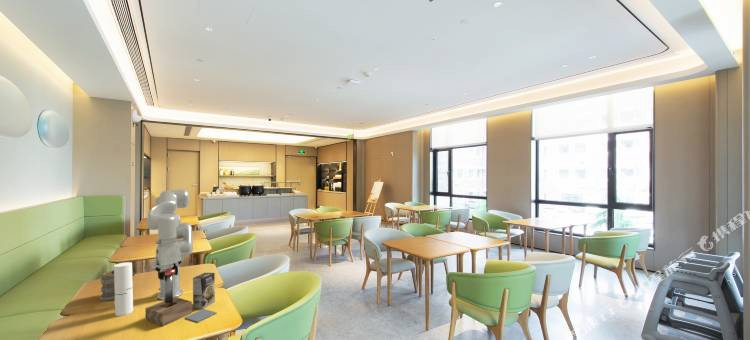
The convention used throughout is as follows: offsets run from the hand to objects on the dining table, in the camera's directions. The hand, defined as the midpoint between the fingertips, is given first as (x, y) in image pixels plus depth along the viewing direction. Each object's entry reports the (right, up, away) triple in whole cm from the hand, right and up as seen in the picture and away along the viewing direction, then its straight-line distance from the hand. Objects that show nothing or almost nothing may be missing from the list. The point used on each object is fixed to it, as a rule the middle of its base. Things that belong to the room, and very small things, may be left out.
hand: (168, 276), depth 153 cm
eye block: (0, -20, 0) cm, 20 cm away
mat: (+16, -20, 0) cm, 25 cm away
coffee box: (+11, -20, +13) cm, 26 cm away
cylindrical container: (-26, -20, +5) cm, 33 cm away
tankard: (-45, -20, +25) cm, 56 cm away
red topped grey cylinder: (0, -13, 0) cm, 13 cm away
